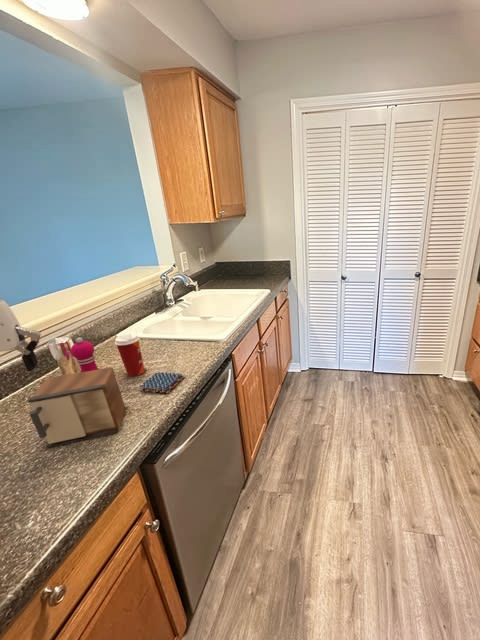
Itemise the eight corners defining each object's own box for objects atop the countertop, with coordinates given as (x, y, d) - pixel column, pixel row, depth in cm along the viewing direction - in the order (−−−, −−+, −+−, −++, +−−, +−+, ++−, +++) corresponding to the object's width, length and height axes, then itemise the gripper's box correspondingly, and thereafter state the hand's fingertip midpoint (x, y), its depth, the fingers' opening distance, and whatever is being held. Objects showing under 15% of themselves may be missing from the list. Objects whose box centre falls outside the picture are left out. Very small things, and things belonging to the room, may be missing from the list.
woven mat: (168, 394, 102) (167, 389, 102) (139, 392, 105) (137, 386, 104) (185, 377, 112) (184, 372, 111) (158, 375, 114) (156, 370, 113)
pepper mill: (99, 401, 101) (79, 343, 93) (79, 399, 102) (57, 342, 94) (115, 388, 107) (97, 333, 99) (96, 387, 109) (77, 332, 101)
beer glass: (83, 371, 120) (70, 334, 114) (86, 378, 115) (73, 340, 109) (61, 378, 115) (46, 340, 110) (63, 385, 111) (48, 346, 105)
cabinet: (48, 447, 82) (27, 400, 77) (64, 420, 93) (46, 377, 87) (117, 432, 86) (102, 387, 81) (125, 408, 97) (112, 366, 91)
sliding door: (42, 454, 79) (22, 412, 74) (49, 442, 83) (31, 401, 78) (81, 446, 81) (64, 404, 76) (86, 434, 85) (70, 393, 80)
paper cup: (151, 371, 117) (142, 336, 112) (129, 380, 112) (119, 343, 106) (142, 365, 122) (132, 331, 117) (120, 373, 117) (110, 338, 111)
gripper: (-93, 309, 61) (-50, 387, 67) (14, 298, 64) (44, 373, 71) (-64, 298, 67) (-27, 370, 74) (32, 289, 71) (58, 358, 78)
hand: (8, 372), depth 73 cm, fingers open, 9 cm apart
